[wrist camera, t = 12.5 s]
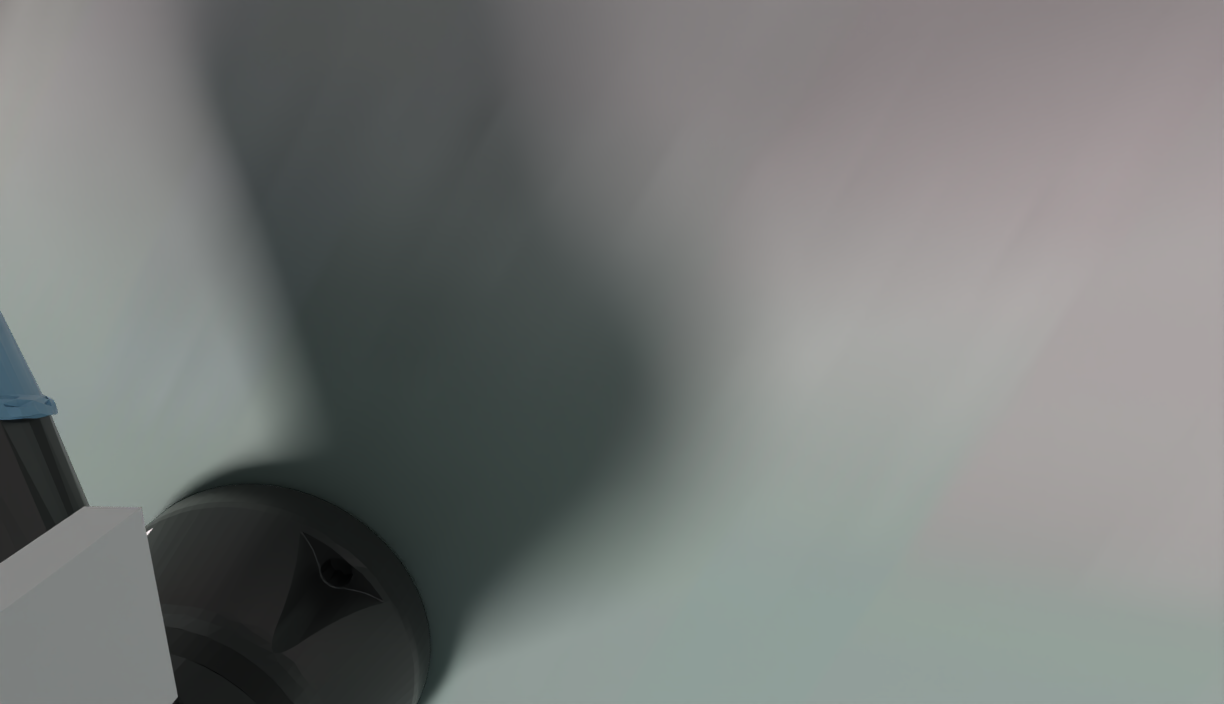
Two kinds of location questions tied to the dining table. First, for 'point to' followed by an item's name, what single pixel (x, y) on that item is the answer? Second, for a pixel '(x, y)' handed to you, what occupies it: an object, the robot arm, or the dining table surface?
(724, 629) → the dining table surface
